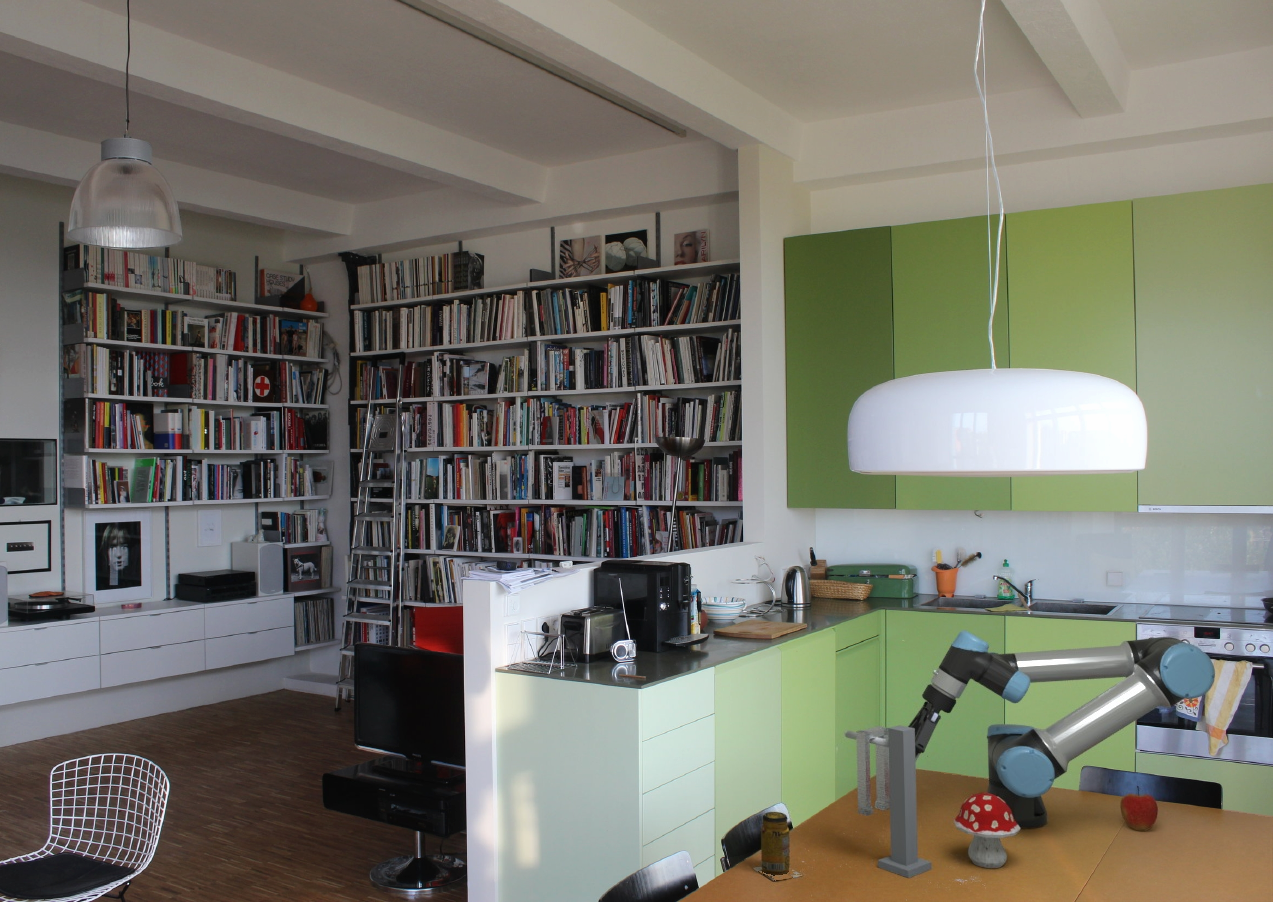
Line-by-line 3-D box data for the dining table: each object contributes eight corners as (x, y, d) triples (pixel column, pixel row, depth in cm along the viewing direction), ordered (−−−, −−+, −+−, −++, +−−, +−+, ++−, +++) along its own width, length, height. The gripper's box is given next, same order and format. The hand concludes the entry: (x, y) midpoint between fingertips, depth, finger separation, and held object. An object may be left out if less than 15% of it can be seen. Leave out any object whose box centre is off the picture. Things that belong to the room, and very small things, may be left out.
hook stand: (931, 868, 213) (928, 728, 214) (908, 877, 208) (905, 734, 209) (859, 844, 229) (856, 713, 230) (836, 852, 224) (833, 718, 225)
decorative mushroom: (941, 861, 217) (939, 792, 218) (978, 847, 226) (976, 780, 226) (997, 880, 206) (995, 807, 207) (1034, 864, 215) (1032, 794, 215)
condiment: (780, 863, 217) (779, 808, 218) (802, 876, 210) (801, 819, 210) (752, 869, 214) (751, 813, 215) (774, 882, 207) (773, 824, 207)
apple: (1122, 832, 234) (1120, 789, 235) (1119, 822, 242) (1118, 780, 242) (1160, 836, 231) (1159, 793, 232) (1156, 825, 239) (1155, 784, 239)
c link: (881, 805, 224) (879, 725, 225) (889, 808, 222) (887, 727, 223) (858, 813, 219) (856, 731, 220) (866, 815, 217) (864, 733, 218)
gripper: (924, 674, 250) (881, 746, 251) (935, 691, 225) (888, 770, 226) (951, 690, 248) (908, 762, 249) (965, 709, 224) (917, 789, 225)
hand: (898, 766), depth 238 cm, fingers open, 13 cm apart
